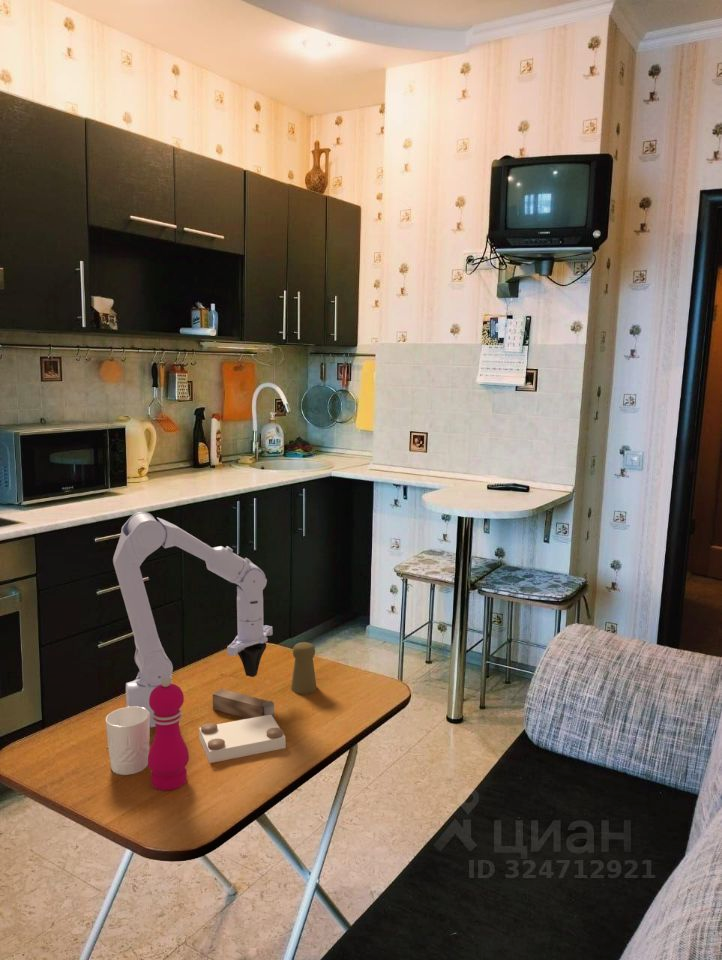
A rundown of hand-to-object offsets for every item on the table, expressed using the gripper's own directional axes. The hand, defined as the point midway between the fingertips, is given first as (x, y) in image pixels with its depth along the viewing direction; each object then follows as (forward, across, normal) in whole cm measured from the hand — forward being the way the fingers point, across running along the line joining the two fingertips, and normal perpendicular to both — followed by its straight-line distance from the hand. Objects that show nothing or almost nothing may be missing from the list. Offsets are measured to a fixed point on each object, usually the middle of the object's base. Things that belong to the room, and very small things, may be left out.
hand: (251, 675), depth 167 cm
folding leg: (+6, -7, -3) cm, 9 cm away
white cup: (+6, -33, +4) cm, 34 cm away
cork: (+6, +10, -8) cm, 14 cm away
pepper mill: (+6, -34, -6) cm, 35 cm away
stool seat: (+6, -17, -10) cm, 20 cm away
